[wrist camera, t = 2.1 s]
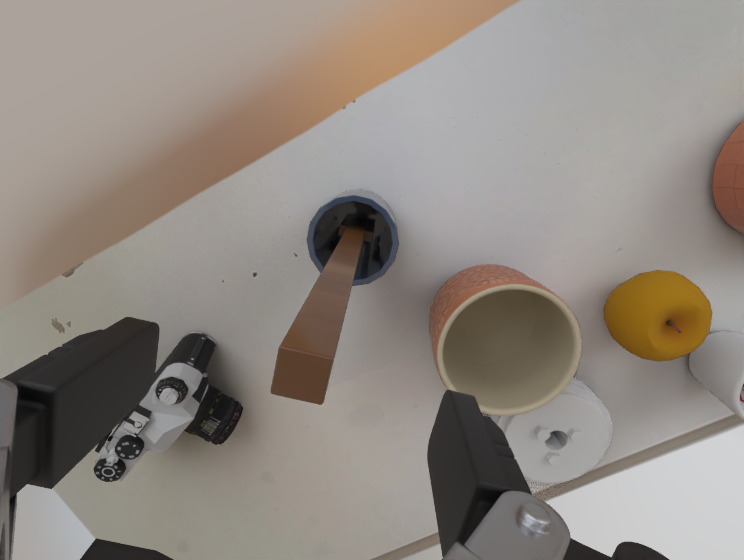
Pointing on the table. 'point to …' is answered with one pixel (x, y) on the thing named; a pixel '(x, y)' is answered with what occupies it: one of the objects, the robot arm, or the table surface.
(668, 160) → the table surface
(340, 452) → the table surface
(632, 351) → the apple
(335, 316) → the stick
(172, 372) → the camera
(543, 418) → the white thick round disc
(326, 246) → the crock
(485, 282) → the planter
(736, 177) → the bowl
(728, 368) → the cup
